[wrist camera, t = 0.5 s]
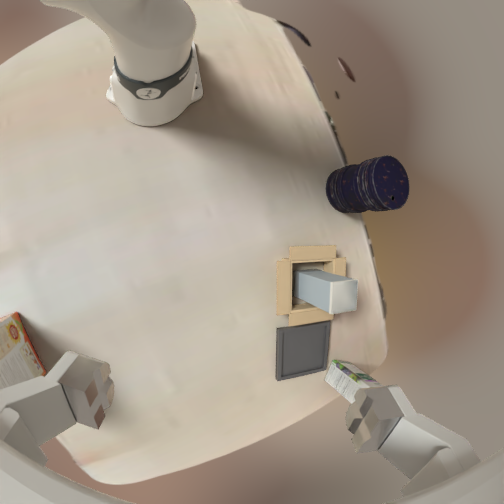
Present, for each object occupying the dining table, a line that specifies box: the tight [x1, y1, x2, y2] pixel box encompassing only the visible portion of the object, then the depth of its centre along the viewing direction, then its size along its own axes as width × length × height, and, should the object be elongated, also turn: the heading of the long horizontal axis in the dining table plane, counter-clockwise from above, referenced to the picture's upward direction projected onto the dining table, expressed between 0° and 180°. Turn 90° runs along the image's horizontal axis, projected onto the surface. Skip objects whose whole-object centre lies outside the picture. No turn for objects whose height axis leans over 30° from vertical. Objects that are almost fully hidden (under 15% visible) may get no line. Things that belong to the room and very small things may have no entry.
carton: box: [277, 245, 346, 326], centre depth 53 cm, size 15×15×4 cm
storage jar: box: [326, 155, 409, 213], centre depth 50 cm, size 10×10×15 cm
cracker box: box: [0, 312, 46, 390], centre depth 28 cm, size 14×6×21 cm, turn 17°
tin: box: [293, 269, 358, 314], centre depth 49 cm, size 5×5×14 cm
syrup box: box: [324, 360, 384, 404], centre depth 53 cm, size 6×6×14 cm
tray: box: [276, 320, 330, 381], centre depth 56 cm, size 12×12×1 cm
